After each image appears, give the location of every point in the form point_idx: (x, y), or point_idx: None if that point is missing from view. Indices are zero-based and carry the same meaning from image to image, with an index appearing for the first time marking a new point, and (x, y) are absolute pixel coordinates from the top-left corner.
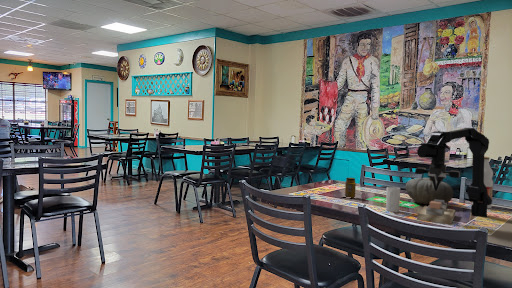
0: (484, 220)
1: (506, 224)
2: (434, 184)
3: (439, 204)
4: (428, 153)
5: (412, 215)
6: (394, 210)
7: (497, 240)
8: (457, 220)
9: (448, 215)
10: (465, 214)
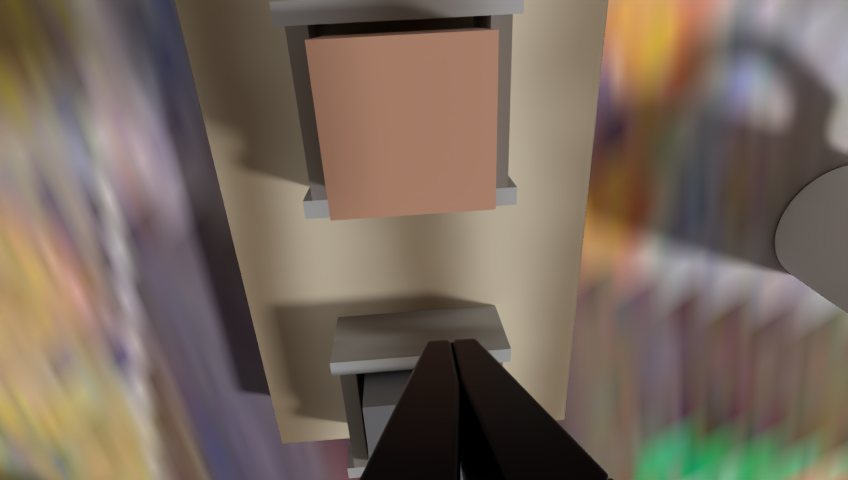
0: (55, 407)
1: None
2: (541, 456)
3: (317, 38)
4: None
5: (638, 152)
6: (836, 179)
7: None
8: (219, 249)
9: (246, 126)
10: None
